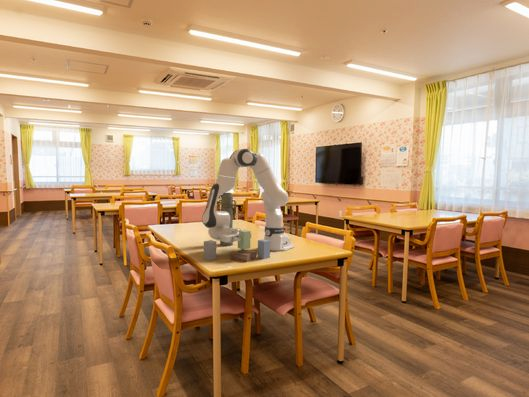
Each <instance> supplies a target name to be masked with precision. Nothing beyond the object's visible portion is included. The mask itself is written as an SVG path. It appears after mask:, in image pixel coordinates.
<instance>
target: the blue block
mask: <svg viewBox="0 0 529 397" xmlns="http://www.w3.org/2000/svg"><path fill="white" fill-rule="evenodd" d="M257 258H258V259H262V260H266V259H269V258H271V250H270V240H265V239H264V238H263V239H259V240H257Z"/></svg>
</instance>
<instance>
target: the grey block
mask: <svg viewBox="0 0 529 397" xmlns="http://www.w3.org/2000/svg"><path fill="white" fill-rule="evenodd" d="M203 259H204V260H206V261H214V260H217V240H212V239H211V240H210V239H209V240H204V241H203Z"/></svg>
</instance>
